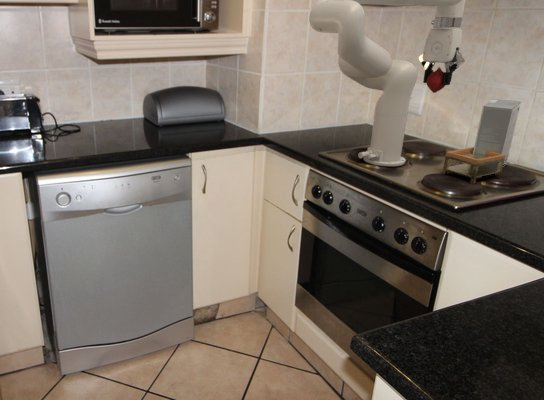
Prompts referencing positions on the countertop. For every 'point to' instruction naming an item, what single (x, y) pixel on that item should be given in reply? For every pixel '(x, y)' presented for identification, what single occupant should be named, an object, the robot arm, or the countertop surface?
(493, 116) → the hard drive box
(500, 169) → the rack
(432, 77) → the onion
